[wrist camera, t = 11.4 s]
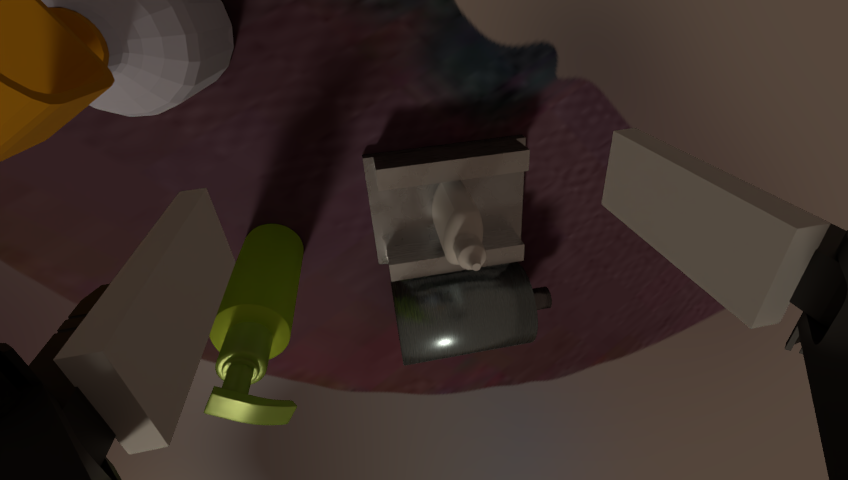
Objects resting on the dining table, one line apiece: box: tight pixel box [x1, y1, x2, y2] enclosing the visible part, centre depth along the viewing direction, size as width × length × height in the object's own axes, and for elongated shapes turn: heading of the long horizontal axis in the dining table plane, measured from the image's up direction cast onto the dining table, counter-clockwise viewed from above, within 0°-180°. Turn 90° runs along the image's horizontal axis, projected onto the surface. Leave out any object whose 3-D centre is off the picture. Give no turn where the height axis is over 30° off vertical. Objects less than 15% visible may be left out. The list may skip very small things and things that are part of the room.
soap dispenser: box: [204, 224, 304, 425], centre depth 35 cm, size 6×7×20 cm
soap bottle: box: [0, 0, 234, 161], centre depth 22 cm, size 9×9×25 cm
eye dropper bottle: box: [432, 180, 487, 271], centre depth 38 cm, size 4×6×12 cm
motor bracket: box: [362, 135, 552, 365], centre depth 43 cm, size 22×18×9 cm
